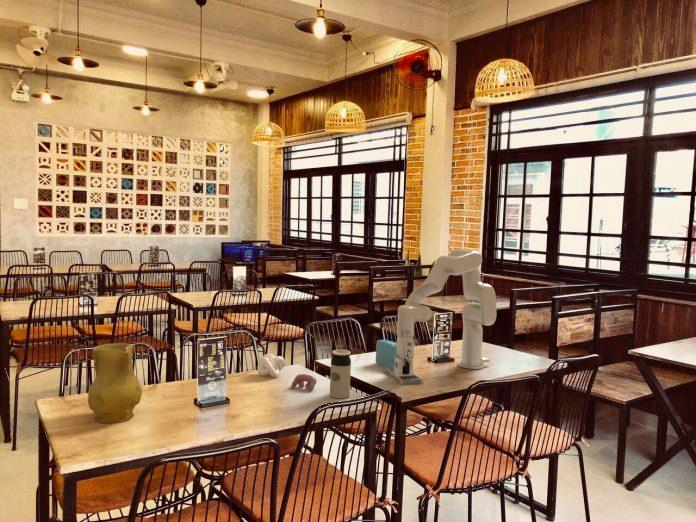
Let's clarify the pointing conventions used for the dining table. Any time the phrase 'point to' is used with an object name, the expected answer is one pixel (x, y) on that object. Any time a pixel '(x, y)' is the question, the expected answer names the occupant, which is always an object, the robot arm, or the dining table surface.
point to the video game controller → (307, 378)
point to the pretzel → (270, 365)
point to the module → (401, 367)
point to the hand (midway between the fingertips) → (403, 371)
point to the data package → (386, 353)
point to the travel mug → (340, 374)
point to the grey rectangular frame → (416, 379)
